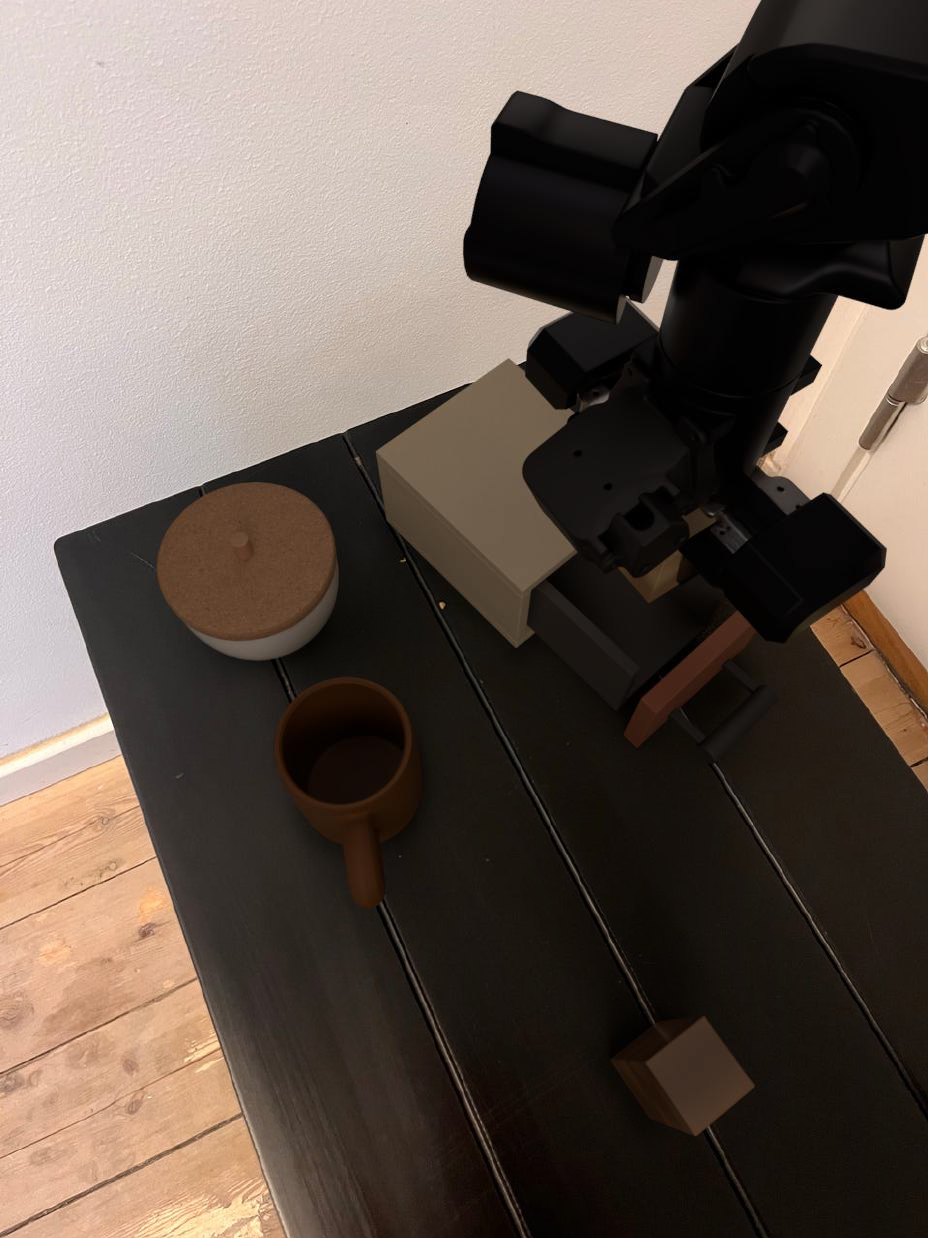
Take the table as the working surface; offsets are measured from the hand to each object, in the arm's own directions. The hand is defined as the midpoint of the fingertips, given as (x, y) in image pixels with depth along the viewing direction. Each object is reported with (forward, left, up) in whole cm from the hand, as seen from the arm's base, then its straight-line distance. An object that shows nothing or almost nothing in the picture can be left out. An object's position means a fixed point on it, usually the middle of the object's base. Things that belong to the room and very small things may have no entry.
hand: (656, 547), depth 48 cm
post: (-21, +15, -12) cm, 28 cm away
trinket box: (+15, +19, -12) cm, 27 cm away
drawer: (-2, 0, -11) cm, 11 cm away
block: (0, 0, -1) cm, 1 cm away
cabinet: (+11, +2, -12) cm, 16 cm away
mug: (-1, +21, -12) cm, 24 cm away
